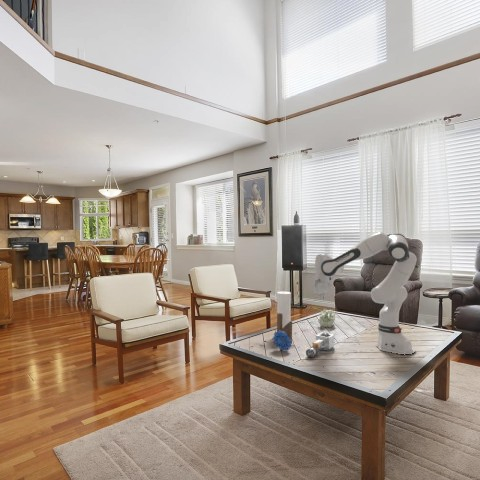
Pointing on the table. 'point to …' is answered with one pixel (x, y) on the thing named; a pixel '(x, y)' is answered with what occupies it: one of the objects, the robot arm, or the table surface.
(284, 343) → the grapes
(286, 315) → the cylinder container
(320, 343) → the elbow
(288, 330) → the wooden hammer
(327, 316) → the wavy plaster lump
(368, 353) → the table surface
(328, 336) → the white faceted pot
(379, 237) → the robot arm
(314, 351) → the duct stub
